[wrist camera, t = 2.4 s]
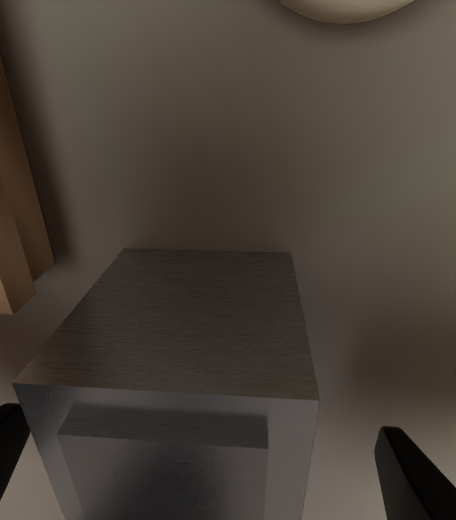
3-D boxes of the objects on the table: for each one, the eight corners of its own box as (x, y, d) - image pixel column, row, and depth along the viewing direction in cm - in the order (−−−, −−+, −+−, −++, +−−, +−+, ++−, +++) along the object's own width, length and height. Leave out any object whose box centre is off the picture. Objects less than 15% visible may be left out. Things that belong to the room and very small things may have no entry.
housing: (276, 426, 12) (287, 633, 8) (152, 418, 13) (89, 611, 8) (290, 251, 9) (323, 419, 5) (125, 246, 10) (-2, 398, 5)
